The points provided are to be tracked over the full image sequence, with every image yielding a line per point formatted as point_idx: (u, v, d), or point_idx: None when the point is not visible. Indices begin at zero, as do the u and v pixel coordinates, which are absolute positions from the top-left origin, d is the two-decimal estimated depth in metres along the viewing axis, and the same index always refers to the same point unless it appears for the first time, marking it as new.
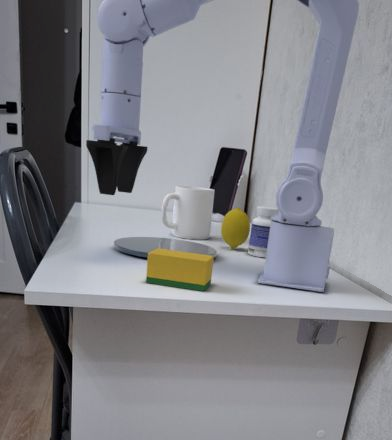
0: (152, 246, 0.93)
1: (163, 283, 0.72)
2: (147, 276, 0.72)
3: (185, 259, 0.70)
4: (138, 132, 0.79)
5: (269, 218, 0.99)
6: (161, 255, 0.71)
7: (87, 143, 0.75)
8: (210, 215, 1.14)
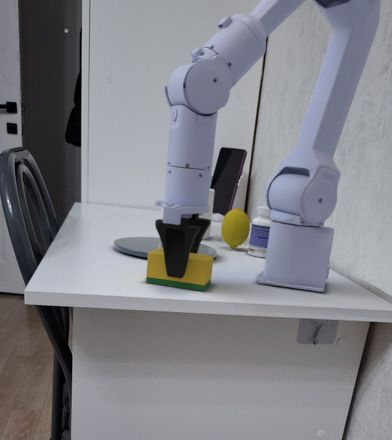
0: (152, 246, 0.93)
1: (163, 283, 0.72)
2: (147, 276, 0.72)
3: None
4: (208, 208, 0.70)
5: (268, 218, 0.99)
6: (161, 255, 0.71)
7: (157, 224, 0.67)
8: (210, 215, 1.14)
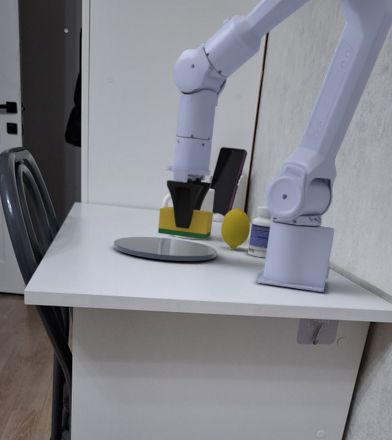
0: (152, 246, 0.93)
1: (172, 233, 0.89)
2: (159, 227, 0.89)
3: None
4: (209, 172, 0.87)
5: (268, 218, 0.99)
6: (170, 210, 0.88)
7: (168, 183, 0.84)
8: None
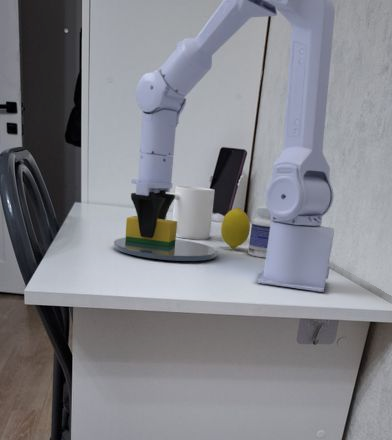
0: (152, 246, 0.93)
1: (138, 241, 0.95)
2: (126, 236, 0.96)
3: None
4: (171, 185, 0.93)
5: (268, 218, 0.99)
6: (136, 219, 0.94)
7: (132, 196, 0.91)
8: (210, 215, 1.14)
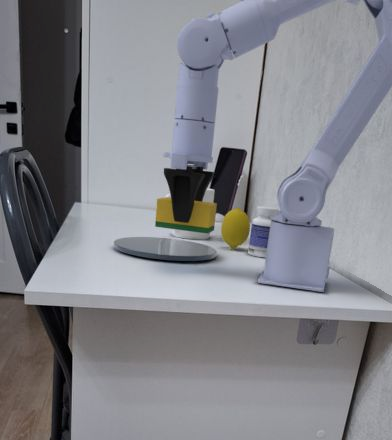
0: (152, 246, 0.93)
1: (171, 227, 0.79)
2: (156, 220, 0.79)
3: None
4: (211, 159, 0.77)
5: (268, 217, 0.99)
6: (169, 200, 0.78)
7: (165, 171, 0.75)
8: None
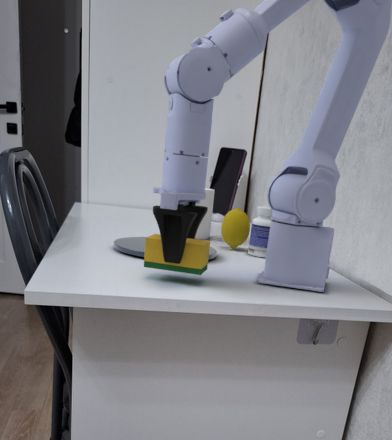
0: None
1: (160, 267, 0.73)
2: (145, 260, 0.74)
3: None
4: (204, 195, 0.71)
5: (268, 218, 0.99)
6: (158, 239, 0.72)
7: (154, 210, 0.69)
8: (210, 215, 1.14)
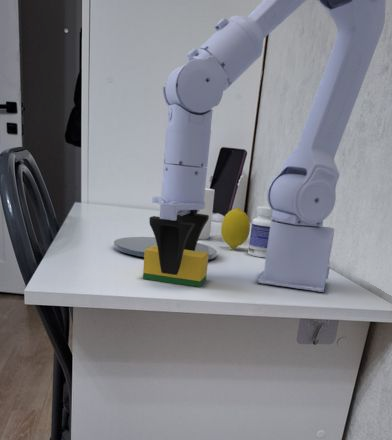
0: None
1: (159, 279, 0.74)
2: (144, 272, 0.74)
3: None
4: (204, 205, 0.72)
5: (268, 218, 0.99)
6: (157, 252, 0.73)
7: (151, 221, 0.68)
8: (210, 215, 1.14)
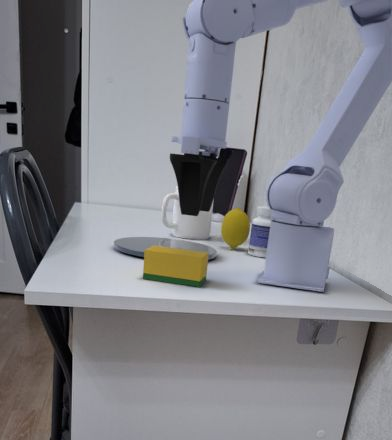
0: None
1: (159, 279, 0.74)
2: (144, 272, 0.74)
3: (181, 256, 0.72)
4: (225, 144, 0.69)
5: (268, 218, 0.99)
6: (157, 252, 0.73)
7: (171, 157, 0.65)
8: (210, 215, 1.14)
